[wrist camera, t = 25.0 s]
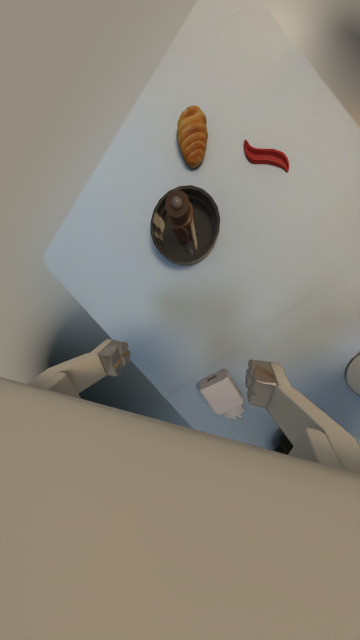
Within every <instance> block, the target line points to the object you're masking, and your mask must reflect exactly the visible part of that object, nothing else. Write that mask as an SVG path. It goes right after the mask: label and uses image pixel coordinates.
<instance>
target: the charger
mask: <svg viewBox="0 0 360 640" xmlns="http://www.w3.org/2000/svg"><path fill="white" fill-rule="evenodd" d="M199 391H200V392H201V394H202V395H203V397H204V398H205V400H206V401H207V403H208V404H209V406H210V407H211V409H212V410H213V411H214V413H215V414H219V415H221V414H225V416H226V417H227V418H234V420H235V421H237V420H236V418H235V417H237V416H239V417H240V419H242V417H241V416H240V415H241V414H242V413H243V412H244V410H243V408H242V407H241V406H242V404H243V402H244V400H243V398H242V395H241V393H240V391H239V390H238V388H237V387H236V385H235V383H234V382H233V380H232V379H231V377H230V376H229V374H228V373H227V371H226V370H221V371H219V372H217V373H215V374H213V375H211V376H209V377H207V378H205V379H203V380H201V381H200V382H199Z"/></svg>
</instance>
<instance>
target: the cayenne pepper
mask: <svg viewBox="0 0 360 640" xmlns="http://www.w3.org/2000/svg"><path fill="white" fill-rule="evenodd" d="M244 151H245V154H246V157H247V159H248V160H249V161H250V162H251V163H253V164H271V165H275V166H277V167H280V168H283V169H284V170H285V171H286V172H288V170H289V162H288V158H287V157H286V155H285V154H284V153H283V152H281V151H278V150H275V149H257V148H253V147H251V146H250V145H249V143H248V142H247V140H245V141H244Z"/></svg>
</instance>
